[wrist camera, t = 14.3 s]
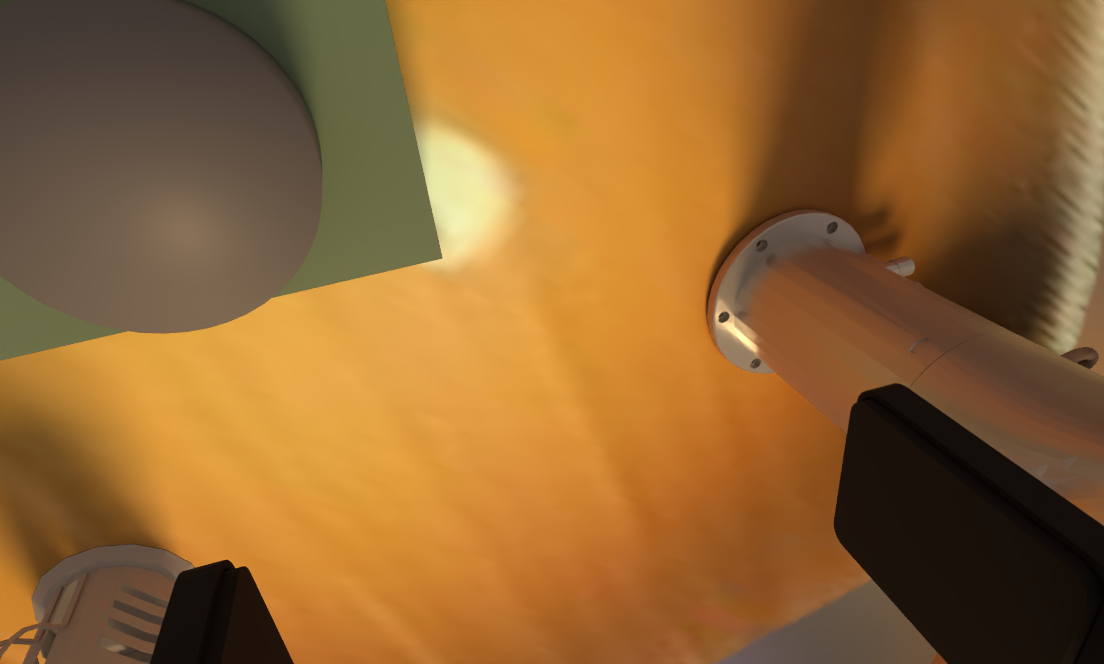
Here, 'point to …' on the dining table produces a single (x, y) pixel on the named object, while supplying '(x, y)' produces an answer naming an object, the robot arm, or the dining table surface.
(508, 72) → the dining table surface
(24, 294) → the green box with dome
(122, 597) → the french press
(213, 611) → the robot arm
